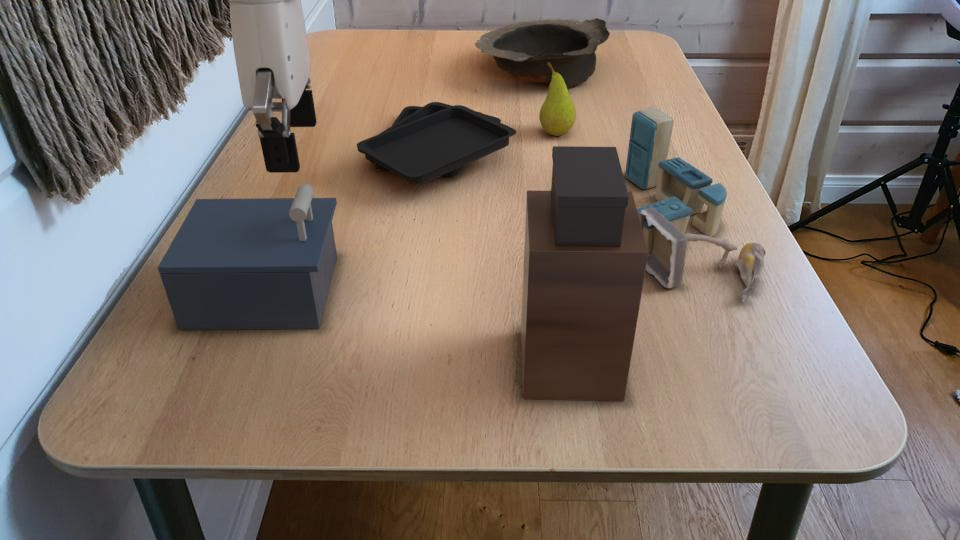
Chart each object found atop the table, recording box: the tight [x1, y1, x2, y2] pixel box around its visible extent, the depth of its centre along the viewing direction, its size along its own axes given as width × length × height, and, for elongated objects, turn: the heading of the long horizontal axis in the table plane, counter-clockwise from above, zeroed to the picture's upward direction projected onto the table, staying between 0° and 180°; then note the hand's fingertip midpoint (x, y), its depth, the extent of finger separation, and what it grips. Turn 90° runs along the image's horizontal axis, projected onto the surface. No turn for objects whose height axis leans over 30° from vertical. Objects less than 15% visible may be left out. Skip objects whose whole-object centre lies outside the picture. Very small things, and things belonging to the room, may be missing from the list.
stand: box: [520, 189, 648, 402], centre depth 71 cm, size 10×10×18 cm
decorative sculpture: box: [639, 207, 766, 303], centre depth 86 cm, size 16×10×7 cm, turn 88°
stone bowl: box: [474, 17, 611, 90], centre depth 137 cm, size 25×25×9 cm
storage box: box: [159, 222, 338, 331], centre depth 84 cm, size 16×14×8 cm
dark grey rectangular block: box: [550, 145, 629, 247], centre depth 64 cm, size 9×6×5 cm, turn 178°
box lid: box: [157, 183, 338, 274], centre depth 80 cm, size 16×14×5 cm
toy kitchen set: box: [624, 106, 728, 256], centre depth 97 cm, size 18×14×11 cm
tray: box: [356, 101, 517, 186], centre depth 111 cm, size 30×23×5 cm
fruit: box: [538, 62, 577, 137], centre depth 116 cm, size 6×6×12 cm
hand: (293, 147), depth 76 cm, fingers open, 9 cm apart
